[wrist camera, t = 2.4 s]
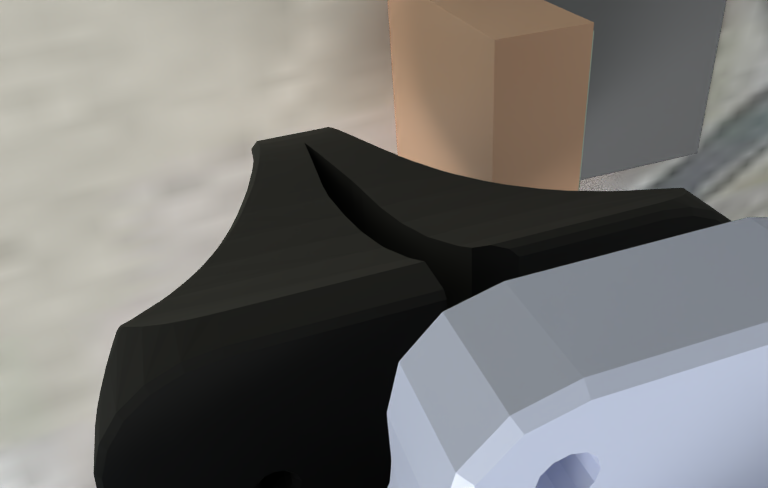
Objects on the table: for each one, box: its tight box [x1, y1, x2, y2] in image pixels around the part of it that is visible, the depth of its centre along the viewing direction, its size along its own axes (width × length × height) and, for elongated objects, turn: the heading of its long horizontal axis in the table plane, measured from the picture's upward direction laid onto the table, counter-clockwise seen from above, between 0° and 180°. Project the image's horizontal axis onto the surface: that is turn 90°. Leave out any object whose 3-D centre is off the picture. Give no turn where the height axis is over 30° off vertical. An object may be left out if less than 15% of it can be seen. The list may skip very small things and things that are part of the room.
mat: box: [544, 0, 726, 180], centre depth 16 cm, size 6×6×1 cm
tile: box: [388, 0, 594, 191], centre depth 14 cm, size 5×2×5 cm, turn 4°
